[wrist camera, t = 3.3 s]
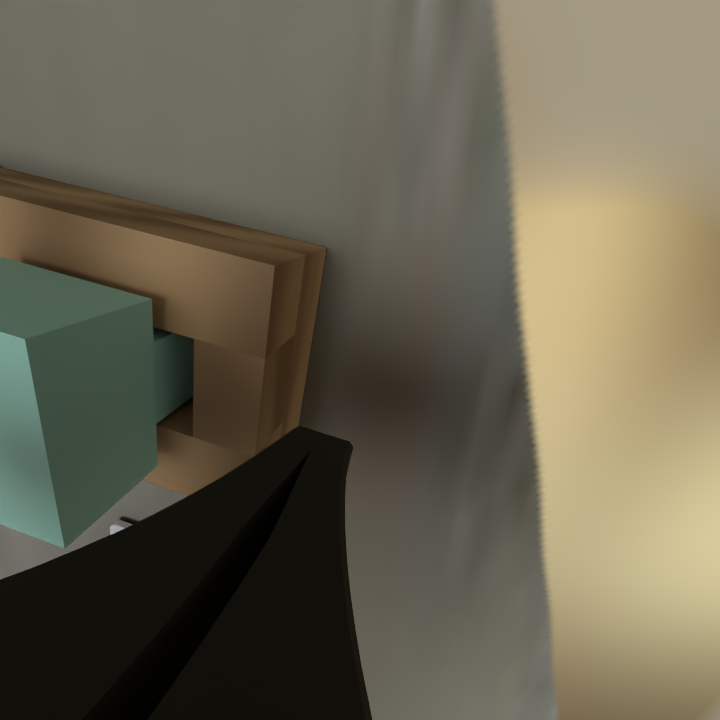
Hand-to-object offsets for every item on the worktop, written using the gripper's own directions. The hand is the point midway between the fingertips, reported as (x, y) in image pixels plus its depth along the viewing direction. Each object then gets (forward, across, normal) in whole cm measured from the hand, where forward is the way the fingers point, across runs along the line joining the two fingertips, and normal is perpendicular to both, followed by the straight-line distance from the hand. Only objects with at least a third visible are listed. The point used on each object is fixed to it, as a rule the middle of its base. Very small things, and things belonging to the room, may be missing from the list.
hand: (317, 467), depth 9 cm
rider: (+3, +7, 0) cm, 8 cm away
